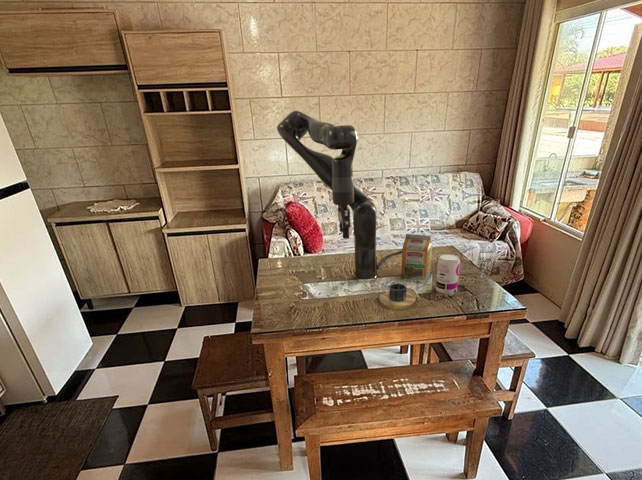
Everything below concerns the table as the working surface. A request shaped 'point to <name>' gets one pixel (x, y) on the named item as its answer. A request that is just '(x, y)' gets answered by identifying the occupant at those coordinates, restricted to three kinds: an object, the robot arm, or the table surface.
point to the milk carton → (416, 257)
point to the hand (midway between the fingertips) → (344, 234)
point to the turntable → (409, 300)
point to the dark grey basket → (398, 292)
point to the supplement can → (447, 274)
